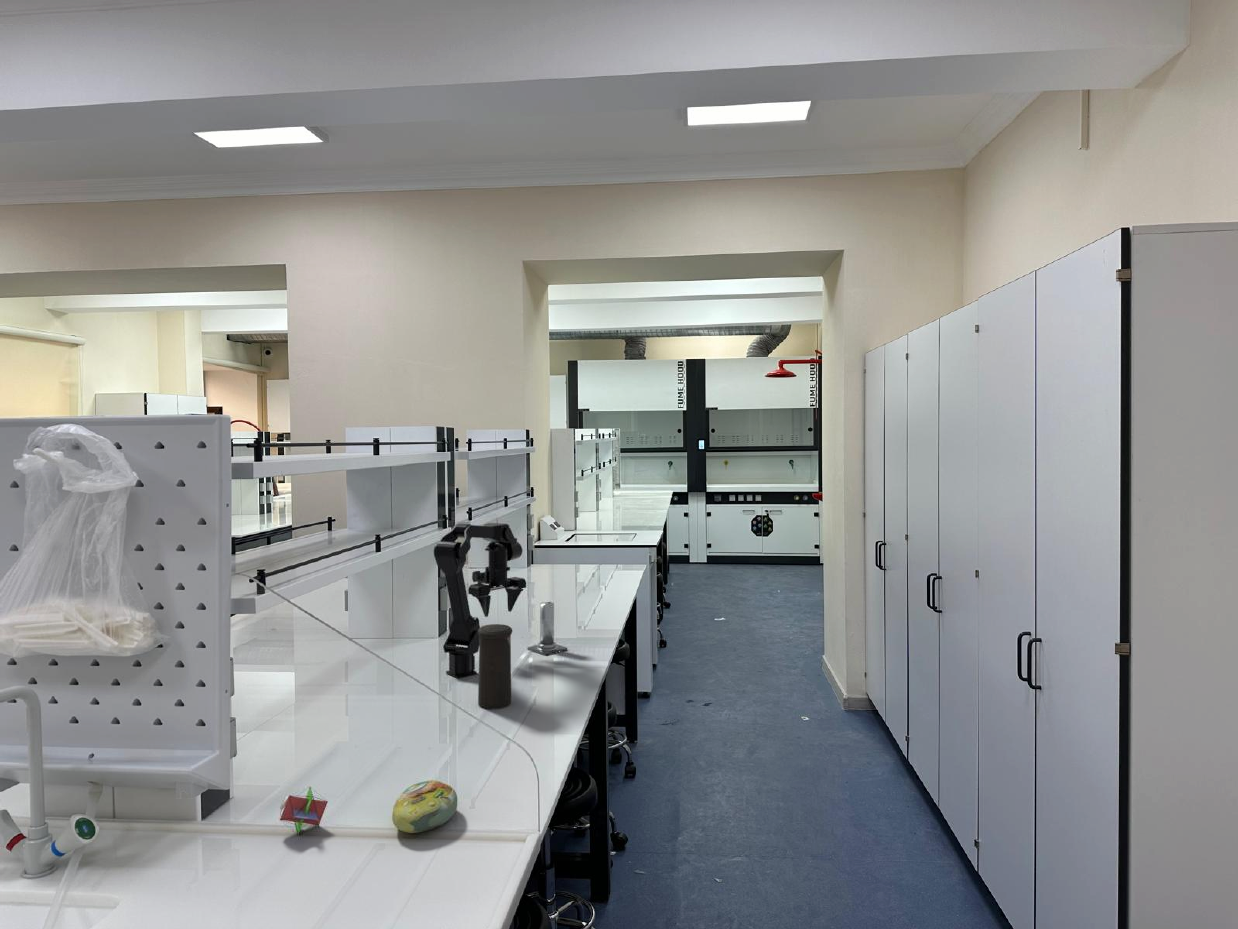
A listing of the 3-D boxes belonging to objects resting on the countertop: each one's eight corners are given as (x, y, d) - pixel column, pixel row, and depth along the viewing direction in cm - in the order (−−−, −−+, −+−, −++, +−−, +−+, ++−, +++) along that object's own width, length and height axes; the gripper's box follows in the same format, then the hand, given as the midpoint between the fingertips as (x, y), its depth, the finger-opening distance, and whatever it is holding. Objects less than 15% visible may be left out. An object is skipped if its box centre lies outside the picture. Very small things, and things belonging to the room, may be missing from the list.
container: (519, 701, 199) (519, 624, 198) (496, 712, 191) (496, 632, 191) (493, 695, 204) (493, 620, 203) (469, 705, 196) (469, 627, 195)
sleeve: (551, 650, 243) (551, 605, 243) (535, 648, 245) (535, 604, 245) (558, 646, 249) (558, 602, 248) (542, 644, 251) (543, 600, 250)
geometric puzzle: (333, 801, 140) (304, 772, 137) (339, 818, 134) (309, 787, 131) (299, 832, 137) (269, 803, 135) (303, 851, 131) (272, 820, 129)
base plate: (544, 655, 241) (544, 652, 241) (527, 649, 247) (527, 646, 247) (567, 650, 247) (567, 647, 247) (549, 644, 253) (549, 641, 253)
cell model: (377, 827, 130) (401, 760, 144) (392, 860, 133) (415, 791, 147) (438, 818, 129) (457, 751, 143) (452, 851, 132) (469, 782, 146)
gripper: (504, 557, 251) (504, 605, 252) (457, 564, 237) (457, 615, 238) (527, 561, 244) (527, 610, 244) (479, 569, 230) (480, 621, 231)
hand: (498, 614), depth 240 cm, fingers open, 9 cm apart
